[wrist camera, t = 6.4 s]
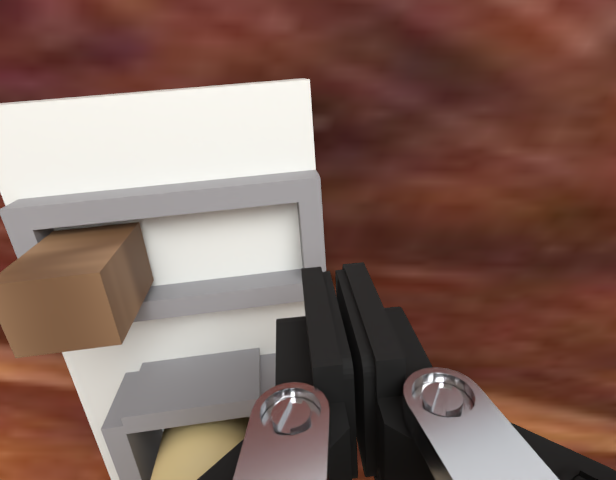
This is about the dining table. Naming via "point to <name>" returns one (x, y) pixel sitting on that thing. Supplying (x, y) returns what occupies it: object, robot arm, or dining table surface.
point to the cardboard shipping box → (75, 290)
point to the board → (177, 251)
